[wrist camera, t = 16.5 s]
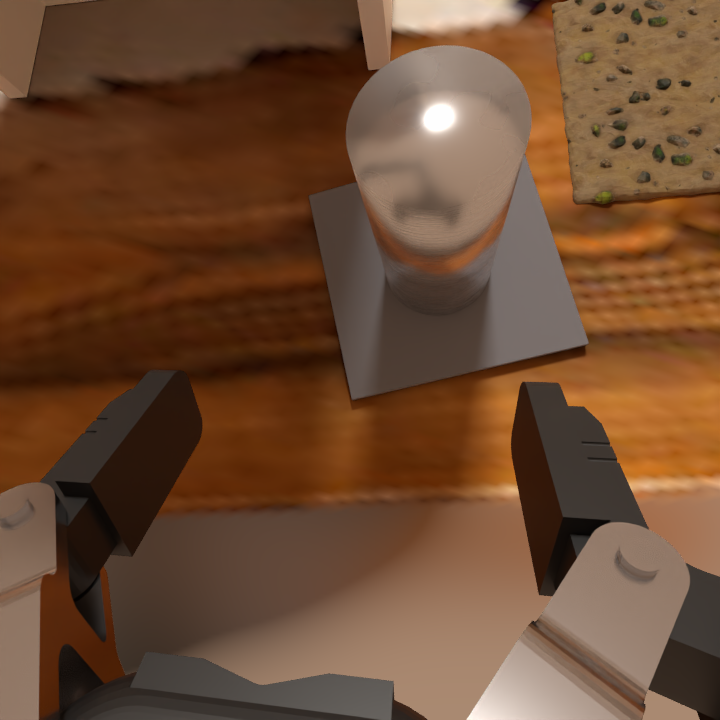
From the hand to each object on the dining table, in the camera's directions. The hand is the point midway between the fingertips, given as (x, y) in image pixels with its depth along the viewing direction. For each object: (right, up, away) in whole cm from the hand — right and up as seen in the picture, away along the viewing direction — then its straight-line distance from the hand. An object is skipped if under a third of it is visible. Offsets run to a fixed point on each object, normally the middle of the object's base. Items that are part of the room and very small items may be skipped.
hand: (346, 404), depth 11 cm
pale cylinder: (+4, +6, +11) cm, 13 cm away
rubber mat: (+4, +6, +12) cm, 14 cm away
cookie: (+17, +15, +12) cm, 25 cm away
